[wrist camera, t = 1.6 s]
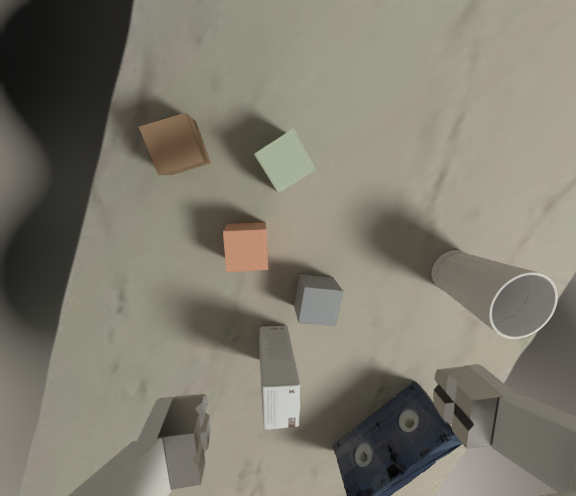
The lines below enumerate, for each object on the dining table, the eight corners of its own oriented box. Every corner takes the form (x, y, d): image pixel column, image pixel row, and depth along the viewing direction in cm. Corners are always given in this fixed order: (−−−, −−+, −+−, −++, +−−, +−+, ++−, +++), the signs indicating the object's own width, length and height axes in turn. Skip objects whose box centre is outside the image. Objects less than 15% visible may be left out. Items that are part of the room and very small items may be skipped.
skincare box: (258, 325, 41) (258, 385, 30) (289, 324, 42) (300, 382, 30) (259, 362, 43) (260, 432, 31) (288, 360, 44) (299, 428, 32)
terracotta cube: (227, 223, 37) (222, 231, 32) (265, 222, 38) (266, 229, 33) (230, 259, 39) (226, 272, 34) (266, 257, 39) (268, 269, 34)
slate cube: (299, 273, 40) (304, 287, 35) (333, 277, 41) (343, 291, 36) (294, 305, 41) (298, 323, 37) (326, 308, 42) (335, 326, 37)
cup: (477, 288, 44) (555, 330, 32) (427, 300, 43) (489, 346, 32) (476, 239, 41) (560, 264, 30) (424, 251, 41) (489, 281, 30)
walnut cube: (155, 133, 34) (138, 126, 29) (195, 121, 34) (185, 112, 29) (172, 174, 35) (158, 175, 30) (210, 163, 35) (203, 161, 30)
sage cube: (254, 156, 36) (254, 153, 31) (288, 134, 35) (293, 128, 30) (276, 190, 37) (278, 193, 32) (308, 170, 37) (316, 169, 32)
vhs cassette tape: (340, 452, 49) (360, 519, 40) (330, 443, 49) (347, 509, 39) (425, 390, 48) (466, 444, 38) (415, 379, 47) (456, 432, 37)
